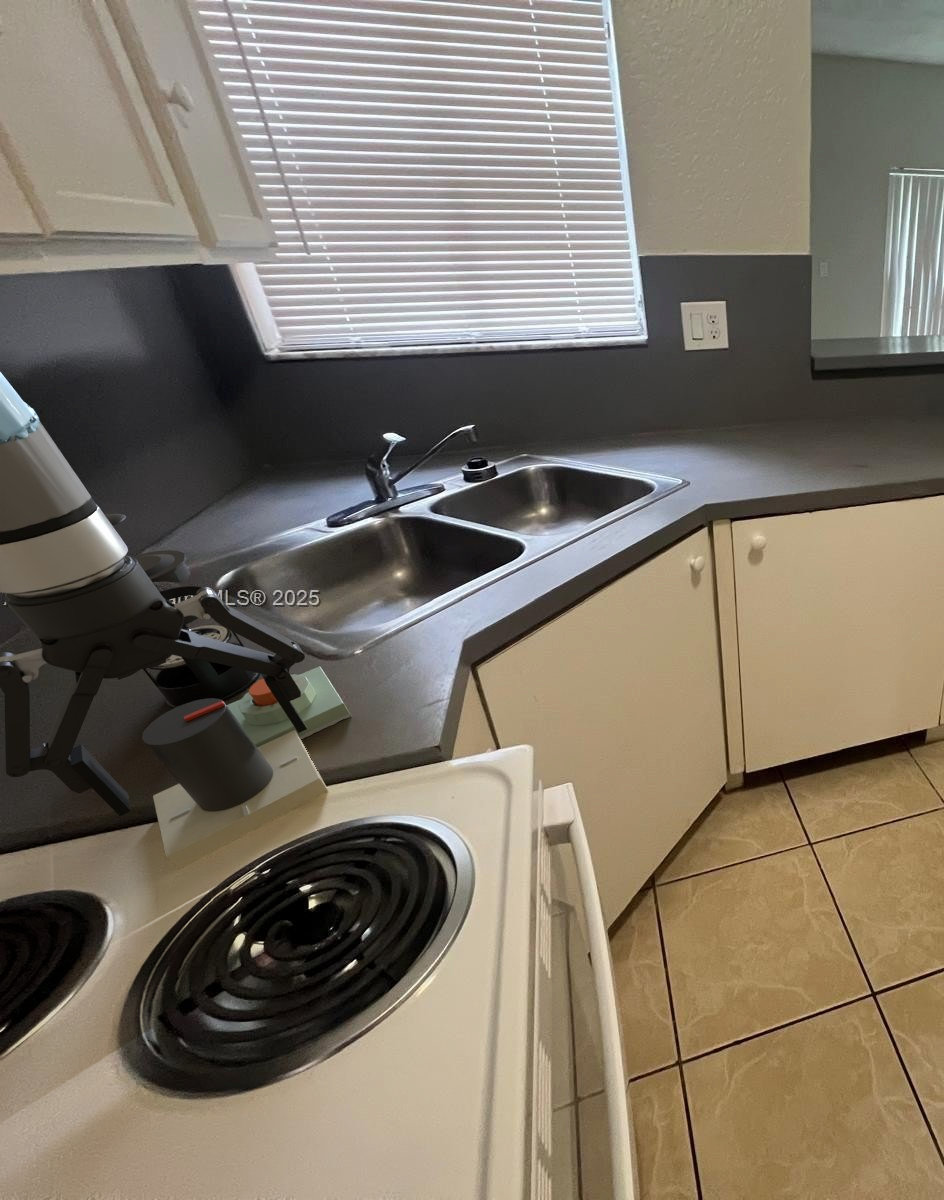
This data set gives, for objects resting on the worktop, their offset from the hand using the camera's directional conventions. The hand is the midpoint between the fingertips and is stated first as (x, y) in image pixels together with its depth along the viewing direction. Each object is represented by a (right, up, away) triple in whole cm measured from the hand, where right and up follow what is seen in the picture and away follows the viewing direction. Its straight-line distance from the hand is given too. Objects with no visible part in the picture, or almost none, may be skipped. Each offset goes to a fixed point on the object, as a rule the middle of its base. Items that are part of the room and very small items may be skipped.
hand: (217, 762), depth 60 cm
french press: (-18, +5, +19) cm, 26 cm away
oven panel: (0, -5, +3) cm, 5 cm away
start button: (-3, +5, +11) cm, 12 cm away
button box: (-3, +2, +13) cm, 13 cm away
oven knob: (0, -3, +2) cm, 3 cm away
